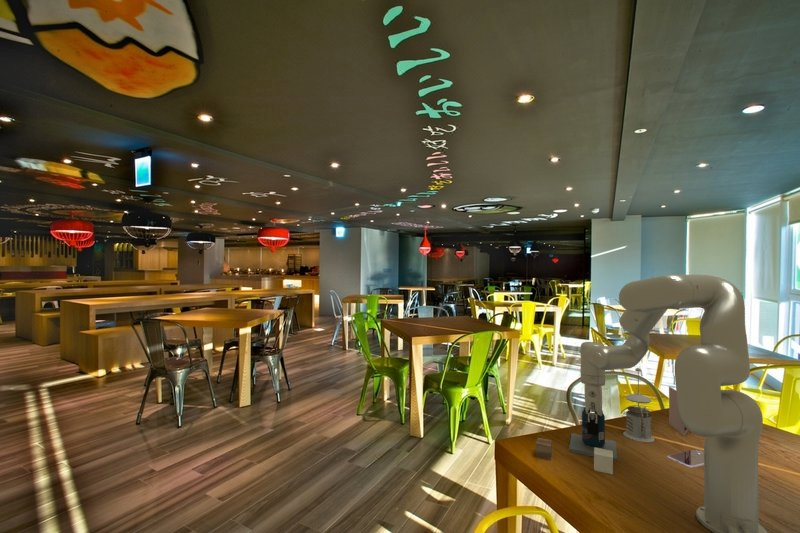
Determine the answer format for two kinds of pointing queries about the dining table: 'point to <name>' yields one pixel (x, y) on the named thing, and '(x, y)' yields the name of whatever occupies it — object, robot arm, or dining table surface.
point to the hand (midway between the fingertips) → (592, 429)
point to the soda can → (593, 439)
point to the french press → (638, 418)
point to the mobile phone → (689, 458)
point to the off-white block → (603, 460)
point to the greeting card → (675, 413)
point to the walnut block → (544, 448)
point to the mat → (581, 448)
